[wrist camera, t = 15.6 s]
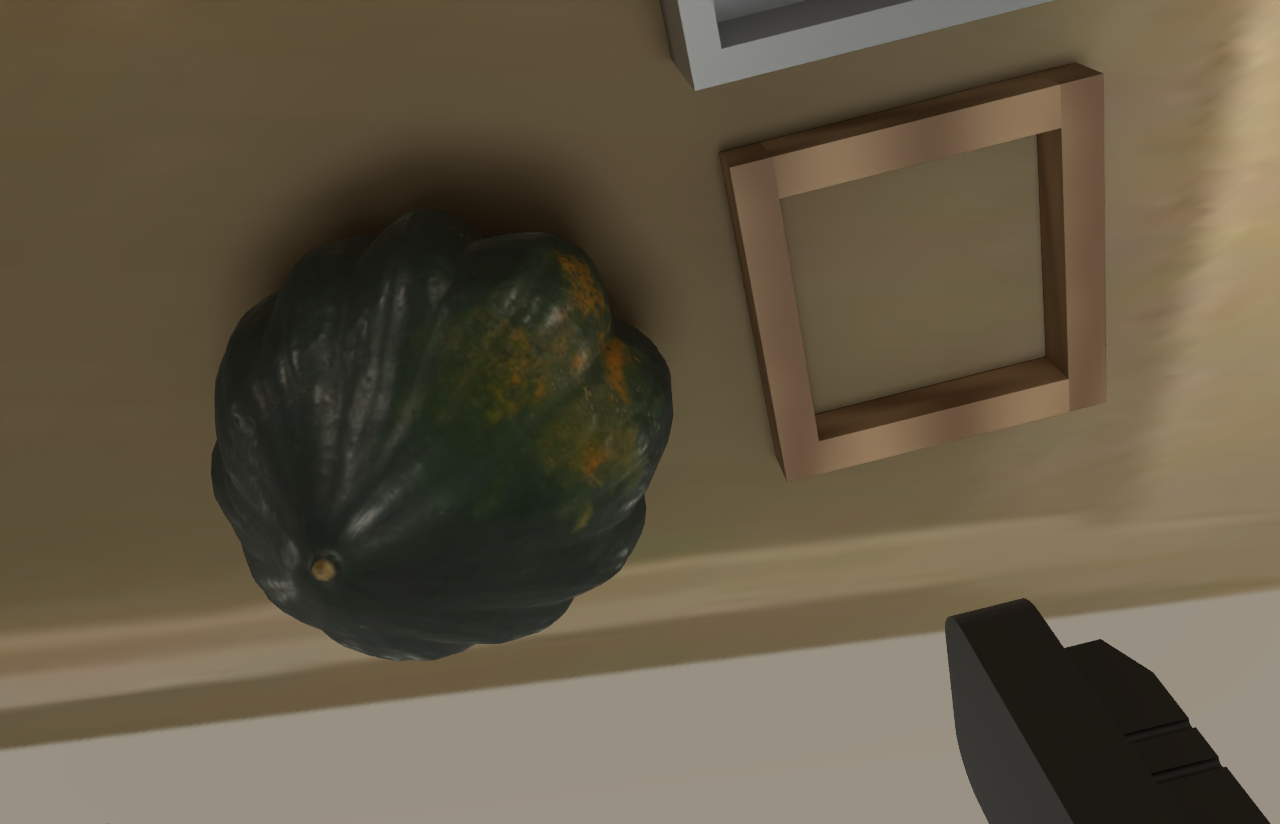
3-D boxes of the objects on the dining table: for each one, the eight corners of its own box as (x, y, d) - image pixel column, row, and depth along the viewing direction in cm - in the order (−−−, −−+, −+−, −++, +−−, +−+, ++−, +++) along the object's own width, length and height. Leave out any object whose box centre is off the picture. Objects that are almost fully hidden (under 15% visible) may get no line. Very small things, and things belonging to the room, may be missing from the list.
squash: (778, 517, 39) (661, 509, 25) (451, 703, 43) (183, 789, 28) (602, 202, 43) (411, 39, 29) (311, 396, 46) (9, 336, 32)
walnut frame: (775, 456, 45) (787, 482, 43) (719, 152, 38) (729, 167, 37) (1082, 380, 45) (1106, 402, 43) (1075, 62, 38) (1103, 73, 37)
